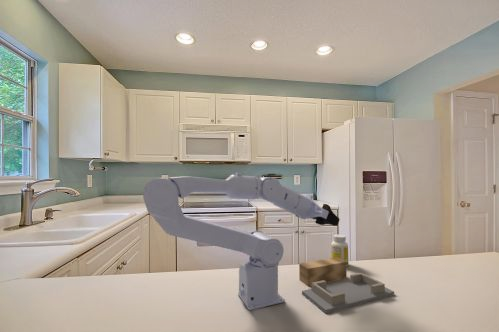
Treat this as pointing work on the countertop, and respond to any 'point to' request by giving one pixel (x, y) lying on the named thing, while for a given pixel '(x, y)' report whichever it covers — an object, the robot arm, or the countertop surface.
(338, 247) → the supplement bottle
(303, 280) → the oak slat
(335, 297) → the cap board
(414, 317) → the countertop surface
